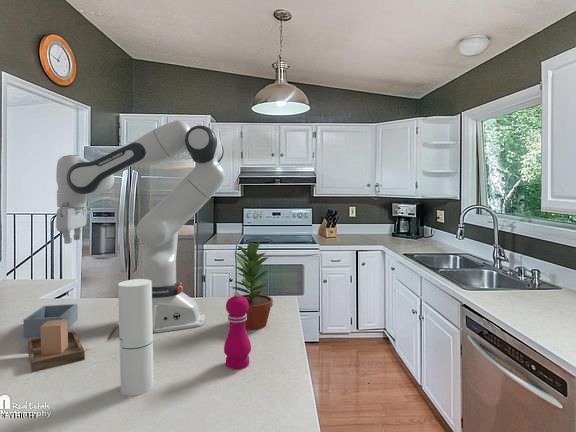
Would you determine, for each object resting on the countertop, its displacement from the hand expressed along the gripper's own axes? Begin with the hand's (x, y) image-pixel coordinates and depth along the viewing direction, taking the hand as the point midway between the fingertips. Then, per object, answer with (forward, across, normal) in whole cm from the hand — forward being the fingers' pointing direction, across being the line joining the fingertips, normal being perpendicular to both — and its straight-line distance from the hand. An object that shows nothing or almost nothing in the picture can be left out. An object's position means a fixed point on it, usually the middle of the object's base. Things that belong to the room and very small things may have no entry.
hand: (72, 241), depth 129 cm
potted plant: (+28, -17, -61) cm, 69 cm away
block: (+28, -28, -4) cm, 40 cm away
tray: (+28, -28, -4) cm, 40 cm away
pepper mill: (+28, -46, -53) cm, 76 cm away
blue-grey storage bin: (+29, -8, +4) cm, 30 cm away
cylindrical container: (+28, -53, -29) cm, 67 cm away
